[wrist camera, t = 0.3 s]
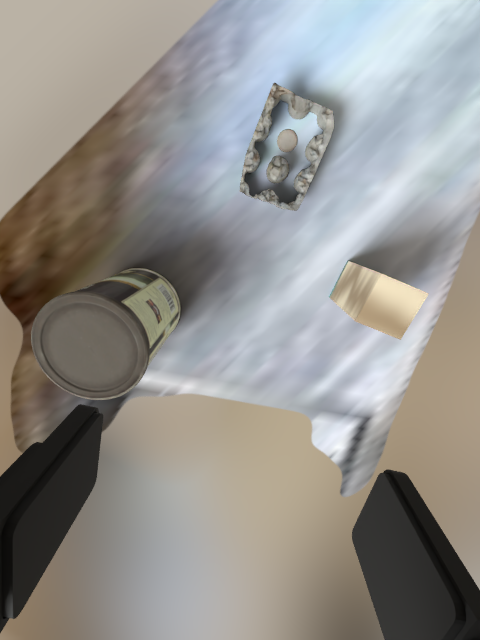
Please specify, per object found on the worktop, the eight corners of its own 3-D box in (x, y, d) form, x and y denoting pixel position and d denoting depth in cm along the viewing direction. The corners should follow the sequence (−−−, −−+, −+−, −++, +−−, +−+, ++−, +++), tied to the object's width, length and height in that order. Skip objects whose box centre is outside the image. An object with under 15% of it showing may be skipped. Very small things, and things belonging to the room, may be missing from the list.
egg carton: (270, 92, 32) (274, 73, 29) (333, 122, 33) (345, 108, 29) (234, 191, 36) (232, 187, 32) (292, 217, 36) (297, 216, 32)
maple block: (347, 260, 37) (381, 273, 28) (383, 275, 38) (428, 293, 28) (329, 297, 39) (355, 321, 29) (363, 311, 39) (400, 339, 30)
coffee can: (89, 311, 40) (9, 356, 27) (131, 251, 38) (66, 266, 24) (152, 357, 42) (107, 420, 29) (196, 302, 40) (170, 343, 26)
